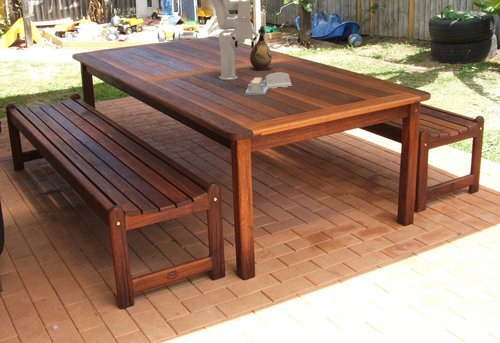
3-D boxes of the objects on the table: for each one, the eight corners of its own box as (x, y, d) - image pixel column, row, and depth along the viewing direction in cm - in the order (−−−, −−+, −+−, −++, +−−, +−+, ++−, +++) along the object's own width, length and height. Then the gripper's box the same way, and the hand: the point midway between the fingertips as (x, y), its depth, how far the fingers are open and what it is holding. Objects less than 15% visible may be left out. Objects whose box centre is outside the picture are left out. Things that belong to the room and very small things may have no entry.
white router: (267, 88, 435) (265, 72, 435) (265, 89, 440) (263, 74, 440) (292, 86, 440) (290, 70, 440) (290, 87, 444) (288, 72, 444)
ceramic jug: (271, 71, 489) (271, 27, 479) (249, 71, 490) (249, 28, 480) (271, 66, 505) (271, 24, 496) (250, 66, 506) (249, 25, 496)
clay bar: (254, 86, 436) (254, 77, 434) (262, 86, 435) (261, 77, 433) (251, 91, 421) (251, 82, 419) (259, 91, 420) (258, 82, 418)
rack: (249, 88, 438) (249, 79, 436) (268, 88, 436) (268, 79, 434) (245, 94, 421) (245, 85, 419) (265, 94, 419) (265, 85, 417)
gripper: (229, 20, 422) (229, 48, 429) (257, 20, 420) (257, 49, 427) (231, 18, 429) (231, 46, 436) (259, 18, 427) (258, 46, 434)
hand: (244, 47), depth 431 cm, fingers open, 9 cm apart
